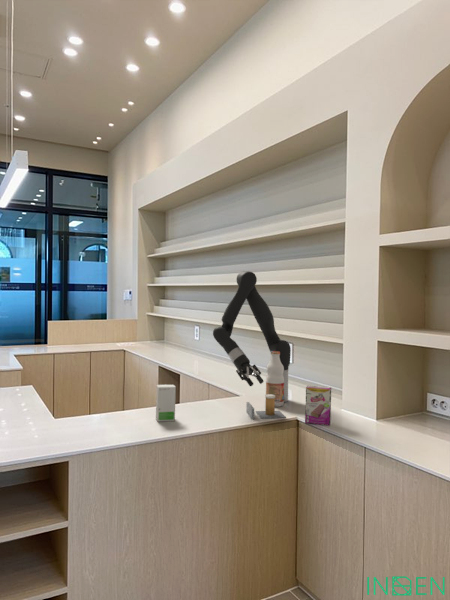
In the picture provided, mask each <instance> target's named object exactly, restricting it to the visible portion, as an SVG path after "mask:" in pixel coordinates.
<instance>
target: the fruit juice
mask: <svg viewBox="0 0 450 600" xmlns="http://www.w3.org/2000/svg"><path fill="white" fill-rule="evenodd" d="M270 355H271V356H270V360H269V362H268V363H267V365H266V368H265V369H266V379H265V395H267V394H272V395H275V407H277V408H279V407H283V406H284V403H285V402H284V376H283V372H284V366H283V365H282V363H281V361H280V357H279V355H280V352H279V351H271V352H270Z"/></svg>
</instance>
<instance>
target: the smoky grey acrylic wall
mask: <svg viewBox="0 0 450 600" xmlns="http://www.w3.org/2000/svg"><path fill="white" fill-rule="evenodd" d="M245 408H246V414H247V415H248V417H250V419H251V420H252V421H253V420H255V407H254V406H253V404H251V403H250V401H246V406H245Z"/></svg>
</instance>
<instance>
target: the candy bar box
mask: <svg viewBox="0 0 450 600" xmlns="http://www.w3.org/2000/svg"><path fill="white" fill-rule="evenodd" d="M304 415H305V417H304V423H305V424H308V425H309V424H310V425H318V426H319V425H320V426H331V422H332V421H331V420H332V419H331V418H332V417H331V416H332V387H331V386H318V385H317V386H316V385H306V388H305V413H304Z"/></svg>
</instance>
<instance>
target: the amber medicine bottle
mask: <svg viewBox="0 0 450 600" xmlns="http://www.w3.org/2000/svg"><path fill="white" fill-rule="evenodd" d="M264 396H265V397H264V398H265V405H264V406H265V407H264V408H265V410H264V411H265V414H266V415H275V411H276V409H275V395H272V394H267V395H266V394H265V395H264Z"/></svg>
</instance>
